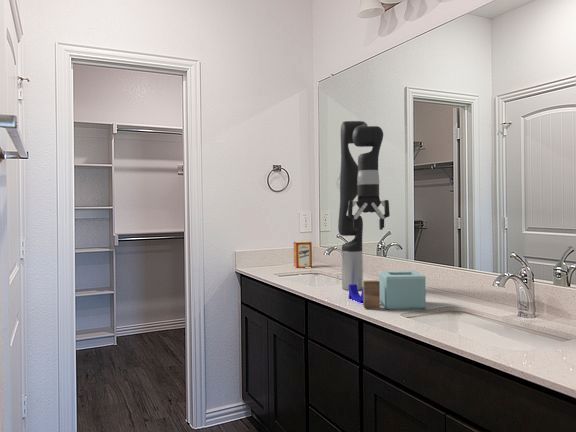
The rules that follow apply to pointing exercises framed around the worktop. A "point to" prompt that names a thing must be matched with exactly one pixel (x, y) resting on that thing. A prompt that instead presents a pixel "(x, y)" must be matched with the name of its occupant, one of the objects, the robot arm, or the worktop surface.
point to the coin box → (402, 290)
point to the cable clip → (355, 293)
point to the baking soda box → (302, 254)
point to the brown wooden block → (371, 294)
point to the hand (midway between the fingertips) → (368, 229)
